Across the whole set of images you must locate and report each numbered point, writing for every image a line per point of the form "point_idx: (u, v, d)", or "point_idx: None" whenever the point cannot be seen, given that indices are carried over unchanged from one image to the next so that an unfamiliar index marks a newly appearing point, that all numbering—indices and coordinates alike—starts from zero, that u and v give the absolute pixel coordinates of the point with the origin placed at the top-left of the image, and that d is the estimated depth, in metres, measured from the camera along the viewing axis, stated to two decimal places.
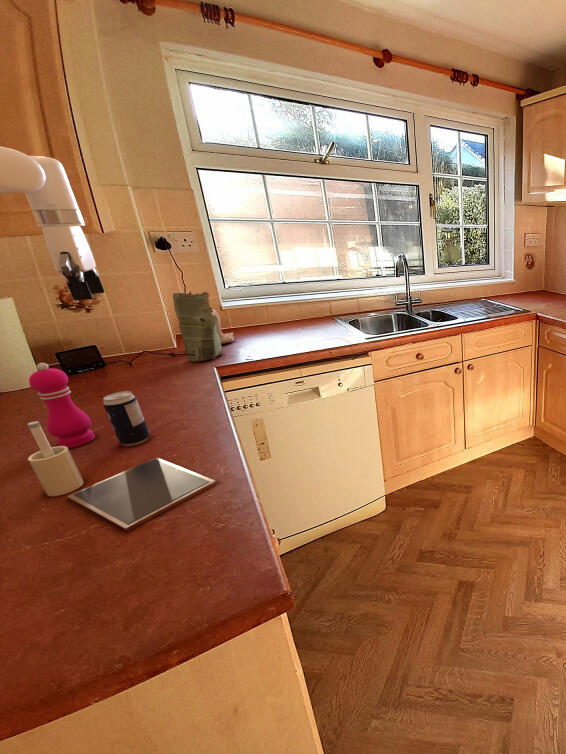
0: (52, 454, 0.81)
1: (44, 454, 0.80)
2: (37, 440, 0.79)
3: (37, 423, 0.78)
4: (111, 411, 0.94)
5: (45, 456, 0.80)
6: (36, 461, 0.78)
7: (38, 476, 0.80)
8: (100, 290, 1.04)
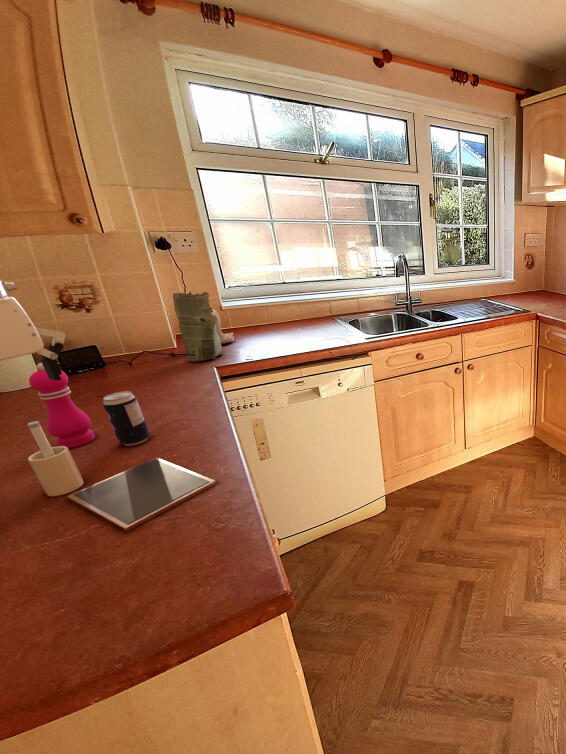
0: (52, 454, 0.81)
1: (44, 454, 0.80)
2: (37, 440, 0.79)
3: (37, 423, 0.78)
4: (111, 411, 0.94)
5: (45, 456, 0.80)
6: (36, 461, 0.78)
7: (38, 476, 0.80)
8: (54, 377, 0.79)
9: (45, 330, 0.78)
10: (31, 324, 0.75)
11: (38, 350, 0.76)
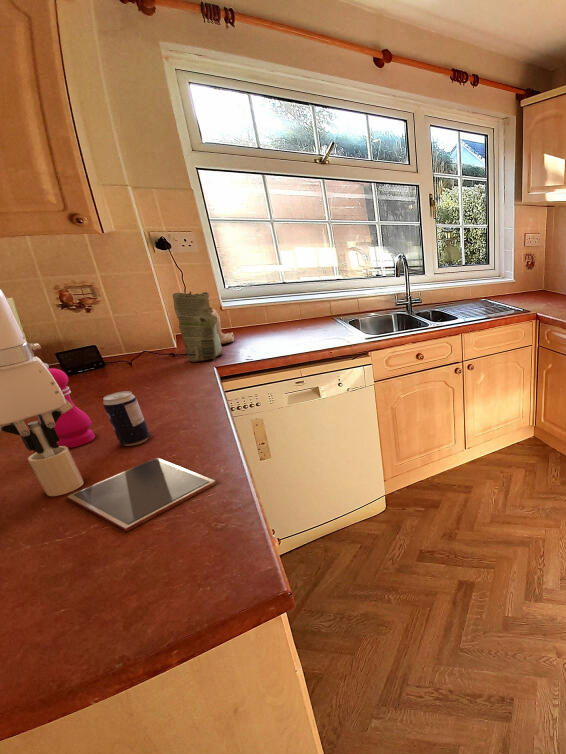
0: (52, 454, 0.81)
1: (44, 454, 0.80)
2: None
3: (37, 423, 0.78)
4: (111, 411, 0.94)
5: (45, 456, 0.80)
6: (36, 461, 0.78)
7: (38, 476, 0.80)
8: (51, 445, 0.80)
9: None
10: (54, 382, 0.78)
11: (60, 406, 0.80)
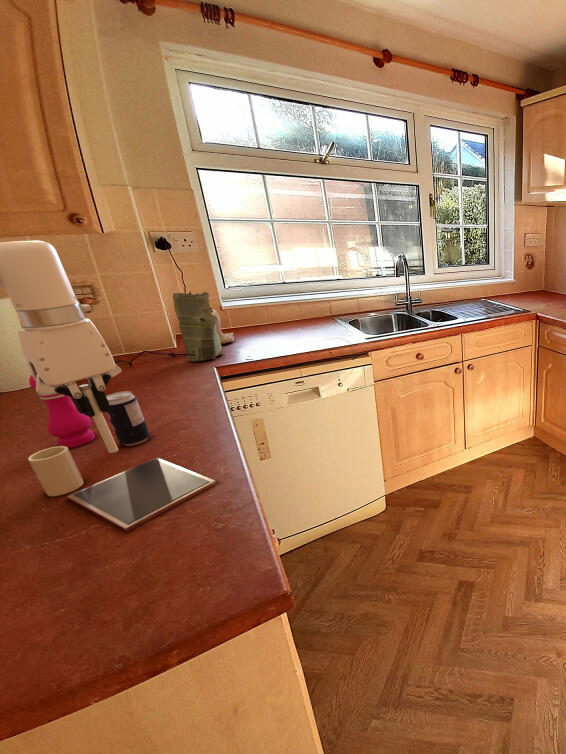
0: (102, 418, 0.80)
1: (95, 418, 0.79)
2: None
3: (88, 386, 0.77)
4: (111, 411, 0.94)
5: (95, 420, 0.79)
6: (36, 461, 0.78)
7: (38, 476, 0.80)
8: (102, 409, 0.79)
9: None
10: (105, 345, 0.78)
11: (110, 369, 0.79)
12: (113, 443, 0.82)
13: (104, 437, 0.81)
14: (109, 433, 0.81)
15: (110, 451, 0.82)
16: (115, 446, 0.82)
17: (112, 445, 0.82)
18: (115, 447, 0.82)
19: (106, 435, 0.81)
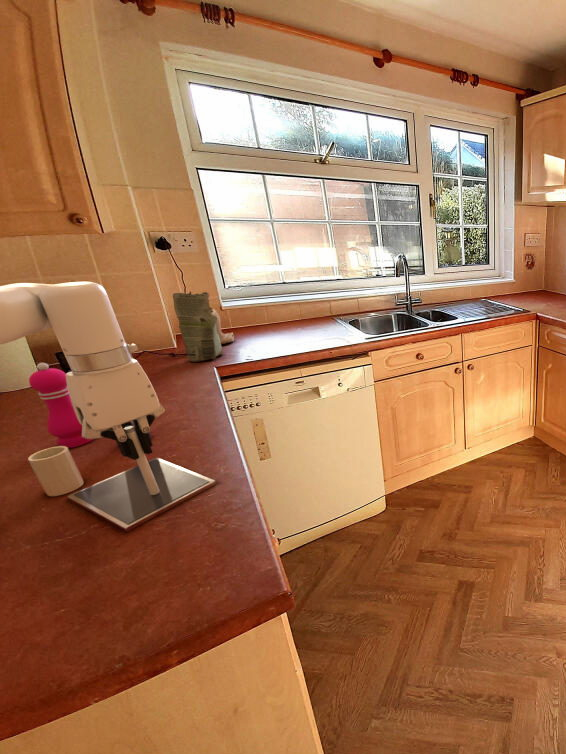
0: (145, 460, 0.77)
1: (138, 460, 0.76)
2: None
3: (133, 428, 0.75)
4: None
5: (139, 462, 0.77)
6: (36, 461, 0.78)
7: (38, 476, 0.80)
8: (145, 451, 0.77)
9: None
10: (150, 385, 0.75)
11: (155, 410, 0.76)
12: (155, 485, 0.79)
13: (147, 479, 0.78)
14: (151, 475, 0.78)
15: (152, 493, 0.79)
16: (157, 488, 0.80)
17: (154, 487, 0.79)
18: (157, 488, 0.80)
19: (148, 478, 0.78)
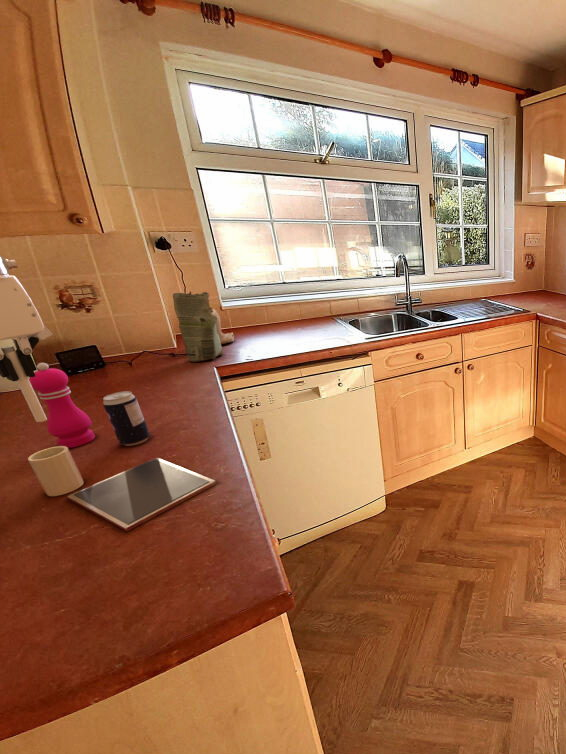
0: (28, 384, 0.74)
1: (19, 383, 0.74)
2: None
3: (12, 347, 0.72)
4: (111, 411, 0.94)
5: (20, 385, 0.74)
6: (36, 461, 0.78)
7: (38, 476, 0.80)
8: (27, 374, 0.74)
9: None
10: (31, 304, 0.72)
11: (38, 331, 0.74)
12: (41, 412, 0.76)
13: (30, 404, 0.75)
14: (36, 400, 0.76)
15: (37, 420, 0.76)
16: (43, 415, 0.77)
17: (39, 414, 0.76)
18: (43, 416, 0.77)
19: (32, 403, 0.75)
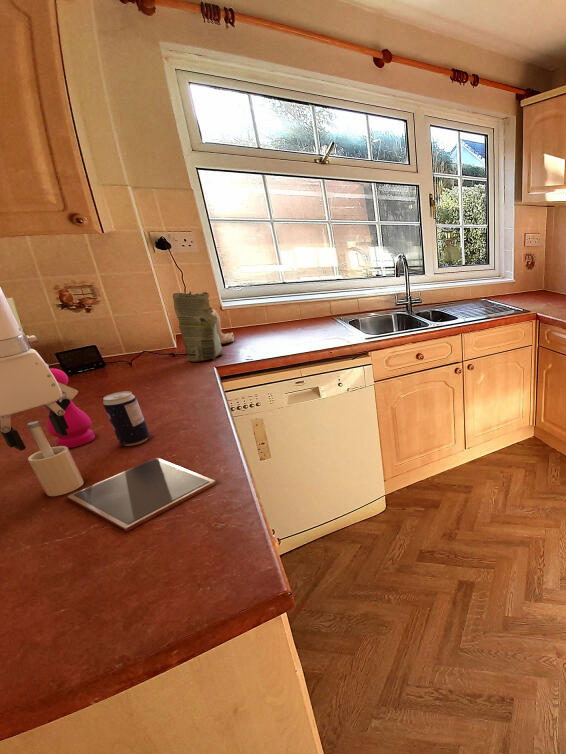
0: (52, 454, 0.81)
1: (44, 454, 0.80)
2: (37, 440, 0.79)
3: (37, 423, 0.78)
4: (111, 411, 0.94)
5: (45, 456, 0.80)
6: (36, 461, 0.78)
7: (38, 476, 0.80)
8: (61, 433, 0.81)
9: (62, 385, 0.80)
10: (51, 375, 0.78)
11: (57, 399, 0.79)
12: None
13: None
14: None
15: None
16: None
17: None
18: None
19: None
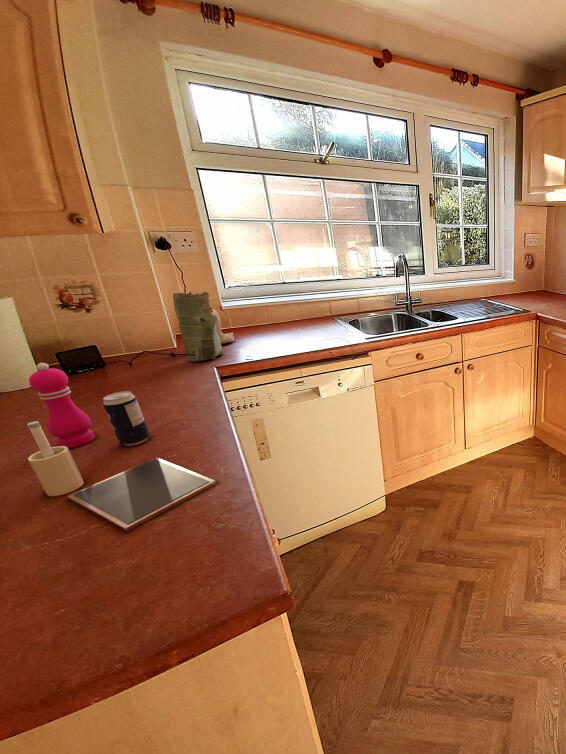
0: (52, 454, 0.81)
1: (44, 454, 0.80)
2: (37, 440, 0.79)
3: (37, 423, 0.78)
4: (111, 411, 0.94)
5: (45, 456, 0.80)
6: (36, 461, 0.78)
7: (38, 476, 0.80)
8: None
9: None
10: None
11: None
12: None
13: None
14: None
15: None
16: None
17: None
18: None
19: None
